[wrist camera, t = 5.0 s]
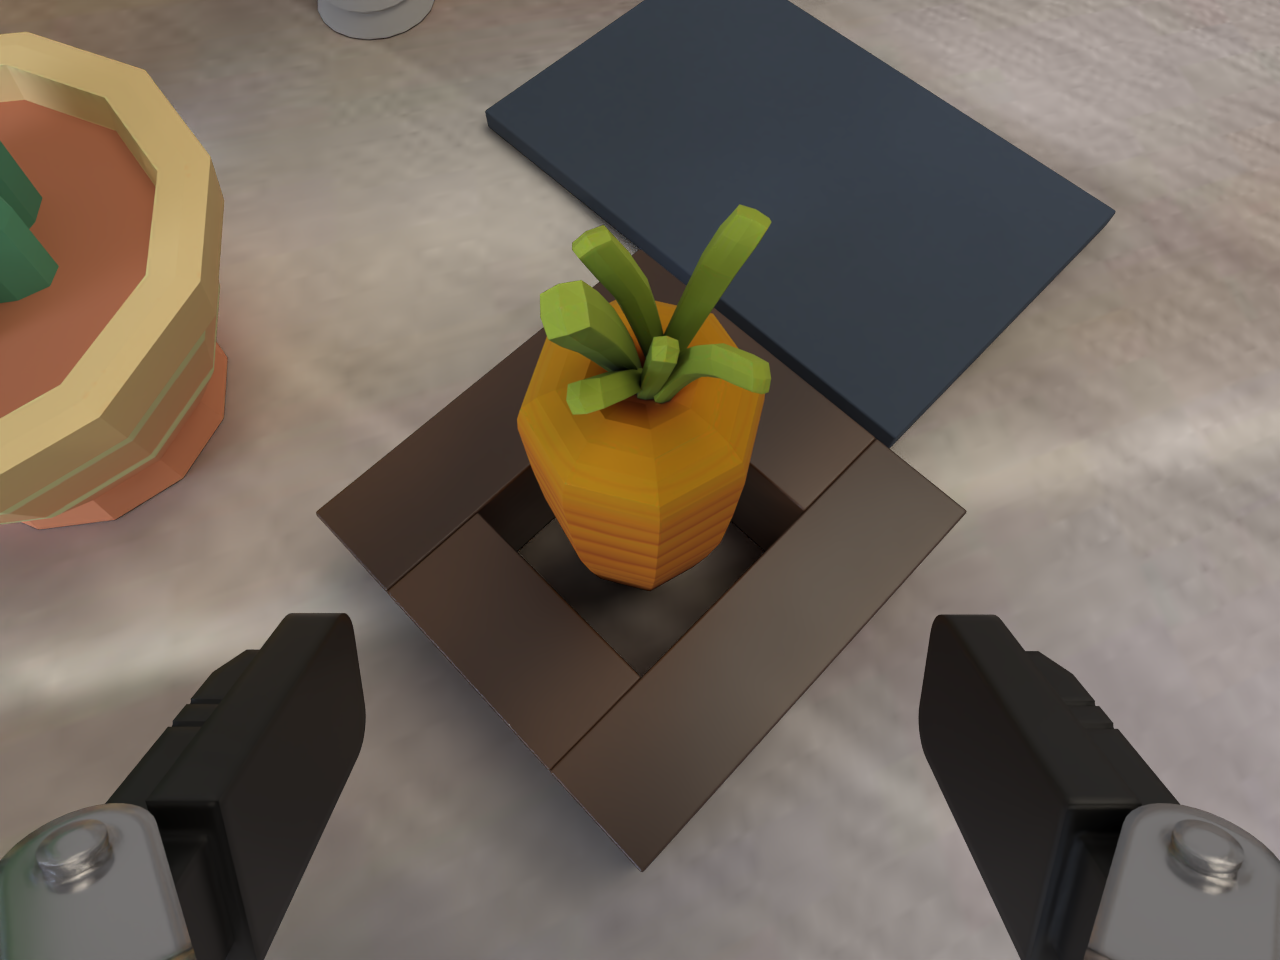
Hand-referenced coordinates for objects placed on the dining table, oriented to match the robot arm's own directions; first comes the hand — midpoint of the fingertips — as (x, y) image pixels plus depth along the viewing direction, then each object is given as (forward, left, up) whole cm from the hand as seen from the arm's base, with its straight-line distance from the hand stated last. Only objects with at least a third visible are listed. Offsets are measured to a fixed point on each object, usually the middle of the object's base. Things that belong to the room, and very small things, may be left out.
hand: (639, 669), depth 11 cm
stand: (-4, +4, -13) cm, 14 cm away
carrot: (-4, +4, -13) cm, 14 cm away
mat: (-11, +19, -13) cm, 25 cm away
